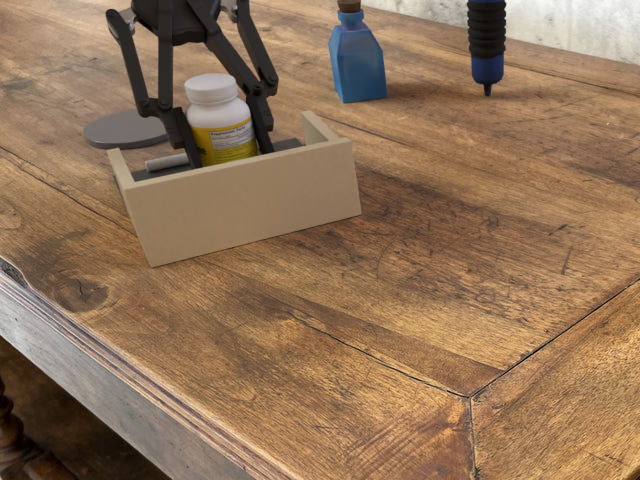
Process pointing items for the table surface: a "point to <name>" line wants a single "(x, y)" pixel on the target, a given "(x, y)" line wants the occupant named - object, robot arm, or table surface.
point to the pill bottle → (219, 120)
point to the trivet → (124, 131)
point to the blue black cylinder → (487, 41)
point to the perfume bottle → (356, 56)
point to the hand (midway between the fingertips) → (236, 168)
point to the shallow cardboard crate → (239, 195)
